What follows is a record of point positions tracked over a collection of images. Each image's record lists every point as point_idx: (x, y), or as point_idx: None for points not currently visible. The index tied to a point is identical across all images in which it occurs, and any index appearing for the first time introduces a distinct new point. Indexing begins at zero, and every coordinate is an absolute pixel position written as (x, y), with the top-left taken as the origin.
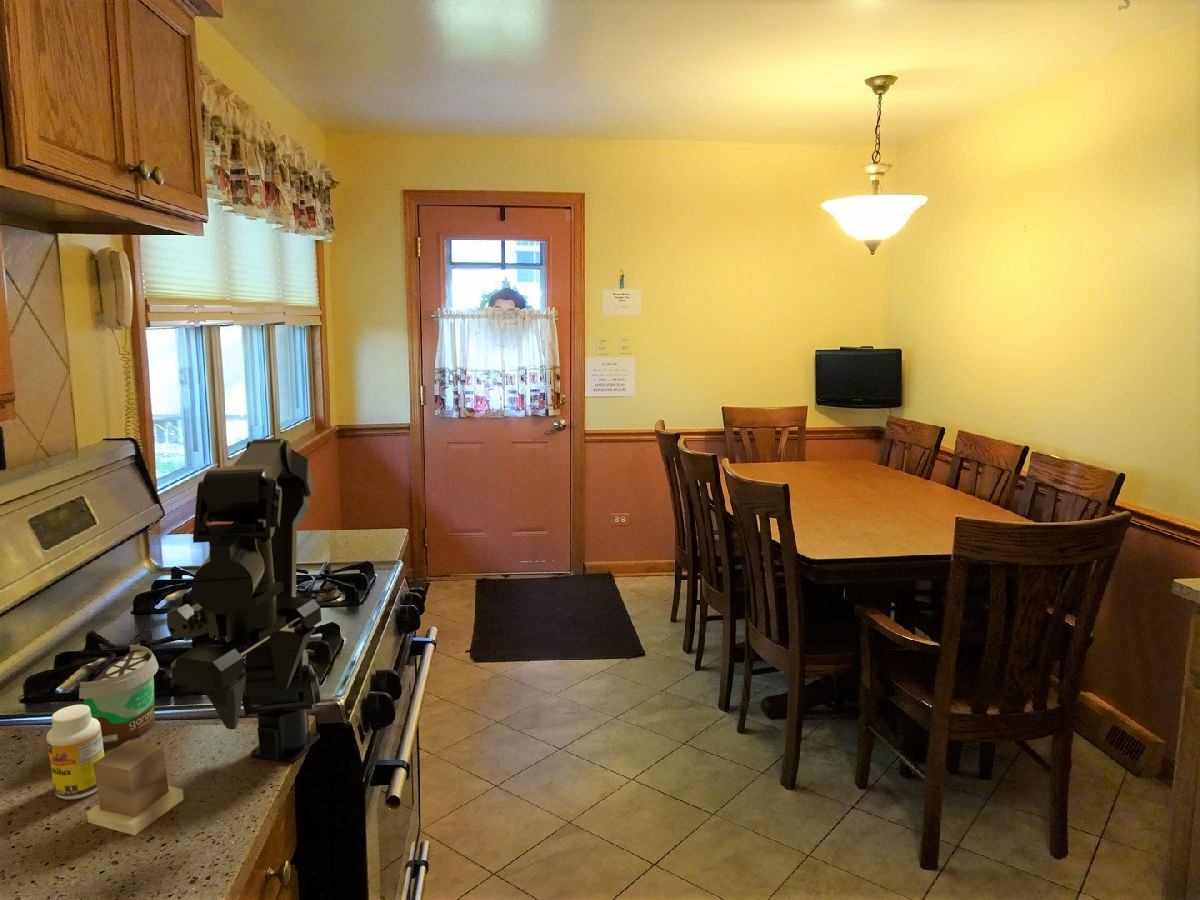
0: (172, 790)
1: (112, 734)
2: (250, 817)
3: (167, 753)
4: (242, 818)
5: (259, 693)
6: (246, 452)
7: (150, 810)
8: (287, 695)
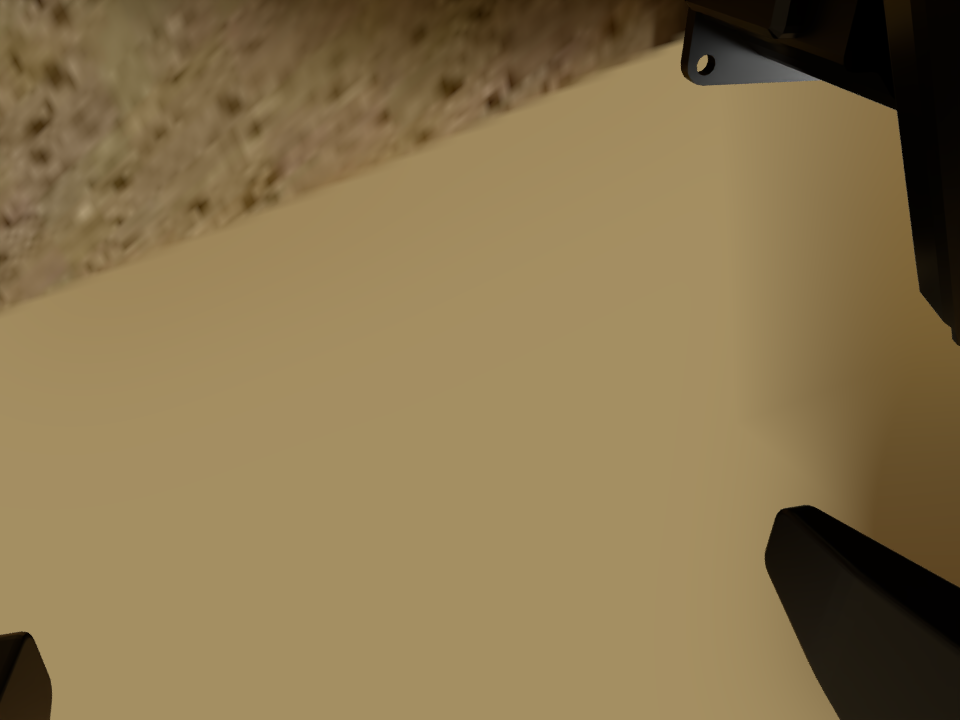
0: None
1: None
2: (259, 166)
3: None
4: (238, 134)
5: (931, 68)
6: None
7: None
8: (924, 243)
